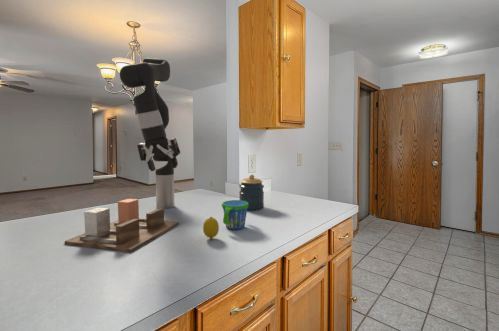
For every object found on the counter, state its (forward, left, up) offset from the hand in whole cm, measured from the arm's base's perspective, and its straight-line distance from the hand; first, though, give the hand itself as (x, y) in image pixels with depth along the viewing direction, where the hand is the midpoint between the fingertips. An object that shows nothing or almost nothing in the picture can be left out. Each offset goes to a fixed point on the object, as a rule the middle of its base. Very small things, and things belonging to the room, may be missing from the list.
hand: (164, 169), depth 98 cm
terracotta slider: (-20, -9, -23) cm, 32 cm away
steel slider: (-10, -21, -23) cm, 33 cm away
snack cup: (+7, +26, -25) cm, 37 cm away
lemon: (+13, +12, -25) cm, 30 cm away
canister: (-15, +50, -25) cm, 58 cm away
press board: (-10, -11, -25) cm, 29 cm away
